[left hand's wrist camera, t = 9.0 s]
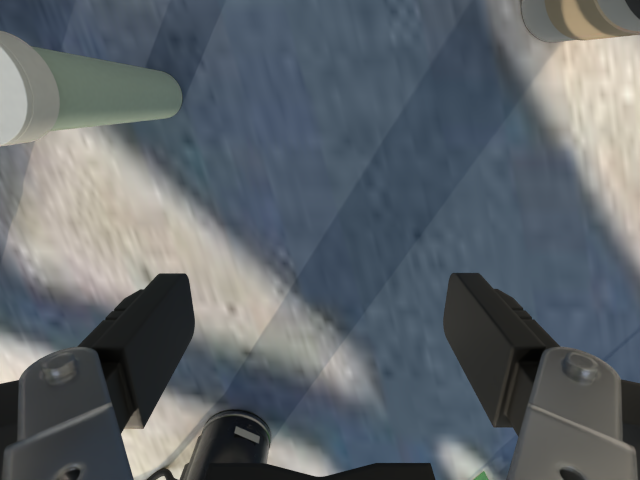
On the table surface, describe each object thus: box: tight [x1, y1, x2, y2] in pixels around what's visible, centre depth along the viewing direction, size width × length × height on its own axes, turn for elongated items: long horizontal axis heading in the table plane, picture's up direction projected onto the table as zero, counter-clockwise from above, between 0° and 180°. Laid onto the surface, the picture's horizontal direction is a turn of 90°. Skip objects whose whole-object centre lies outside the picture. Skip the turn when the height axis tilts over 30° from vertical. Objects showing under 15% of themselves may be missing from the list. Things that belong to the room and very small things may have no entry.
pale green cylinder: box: [31, 46, 182, 131], centre depth 25 cm, size 4×4×20 cm
